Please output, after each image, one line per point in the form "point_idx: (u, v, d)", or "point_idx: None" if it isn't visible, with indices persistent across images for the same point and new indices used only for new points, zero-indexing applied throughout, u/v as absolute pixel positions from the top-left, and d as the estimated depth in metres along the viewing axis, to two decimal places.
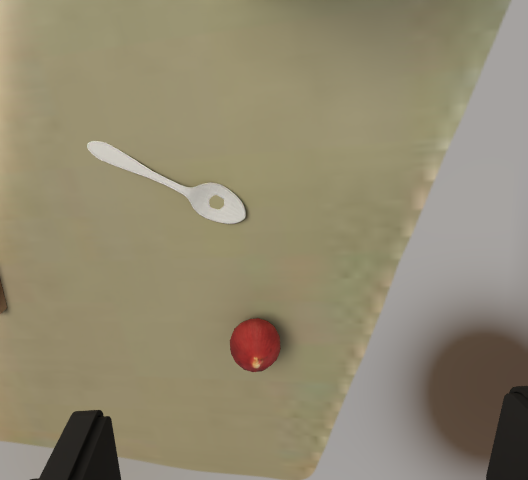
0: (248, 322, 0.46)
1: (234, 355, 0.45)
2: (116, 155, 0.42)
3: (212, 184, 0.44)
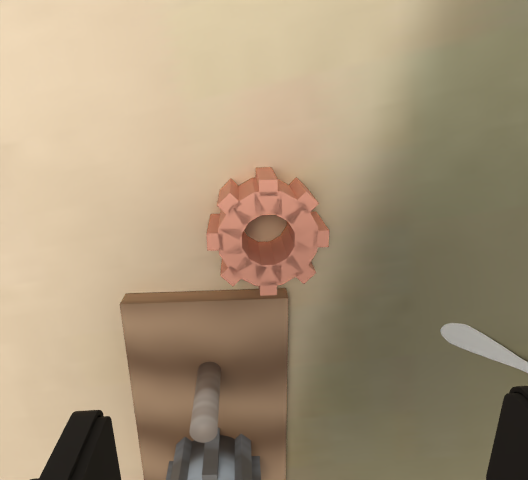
0: None
1: None
2: (477, 340, 0.31)
3: None
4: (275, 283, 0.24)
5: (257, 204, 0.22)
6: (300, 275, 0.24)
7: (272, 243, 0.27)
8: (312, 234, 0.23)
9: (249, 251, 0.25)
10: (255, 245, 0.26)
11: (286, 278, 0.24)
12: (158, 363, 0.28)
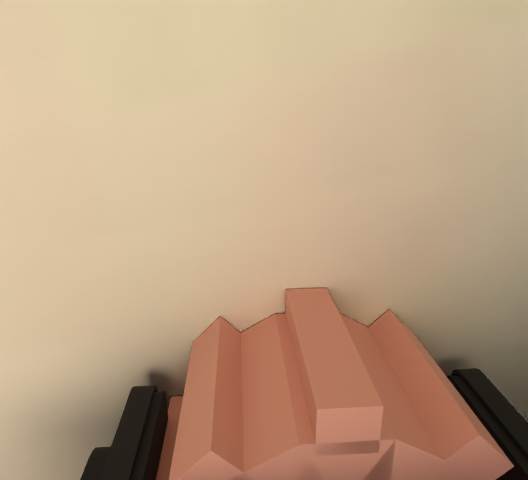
0: None
1: None
2: None
3: None
4: None
5: (308, 479, 0.06)
6: None
7: None
8: None
9: None
10: None
11: None
12: None
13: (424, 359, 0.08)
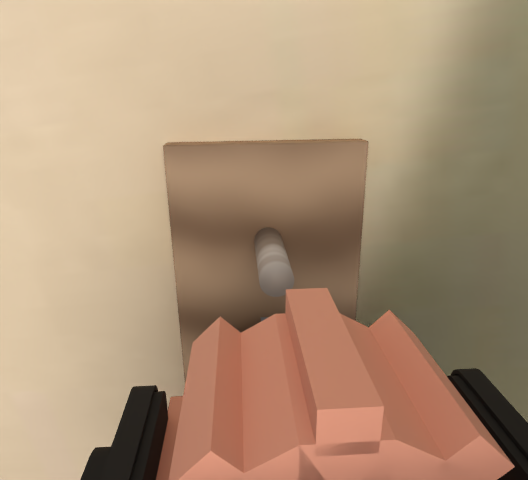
0: None
1: None
2: None
3: None
4: None
5: (308, 479, 0.06)
6: None
7: None
8: None
9: None
10: None
11: None
12: (207, 228, 0.23)
13: (424, 359, 0.08)
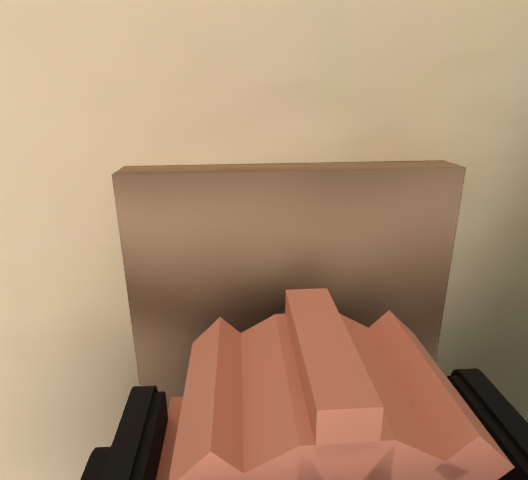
0: None
1: None
2: None
3: None
4: None
5: None
6: None
7: None
8: None
9: None
10: None
11: None
12: (191, 308, 0.14)
13: (424, 360, 0.08)
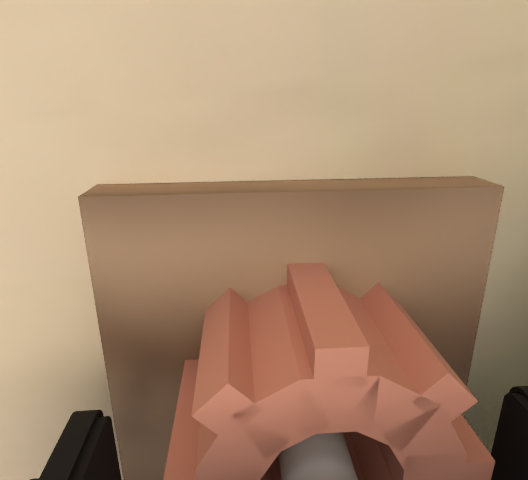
0: None
1: None
2: None
3: None
4: None
5: (307, 410, 0.08)
6: None
7: None
8: (450, 471, 0.09)
9: (275, 479, 0.10)
10: None
11: None
12: (177, 352, 0.12)
13: (407, 320, 0.10)
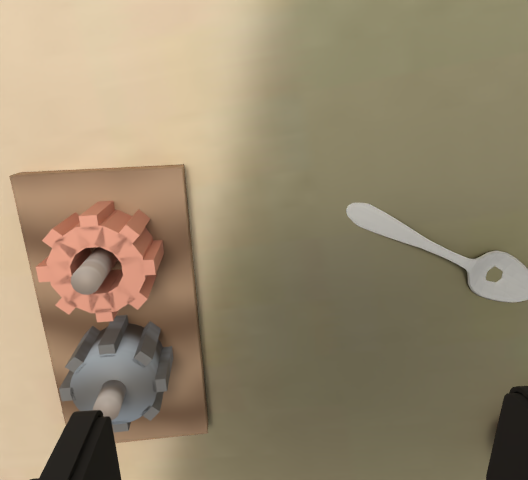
0: None
1: None
2: (381, 220, 0.31)
3: (498, 253, 0.33)
4: (110, 310, 0.26)
5: (81, 238, 0.24)
6: (133, 302, 0.26)
7: (121, 271, 0.29)
8: (138, 263, 0.25)
9: None
10: None
11: (119, 305, 0.26)
12: None
13: (132, 216, 0.26)
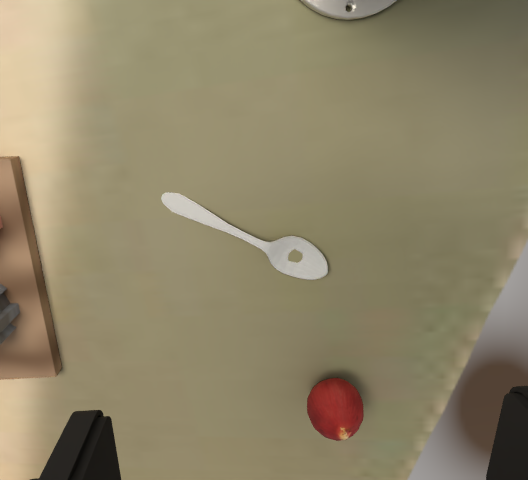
0: (329, 385, 0.42)
1: (314, 421, 0.41)
2: (190, 207, 0.38)
3: (293, 238, 0.40)
4: None
5: None
6: None
7: None
8: None
9: None
10: None
11: None
12: None
13: None
